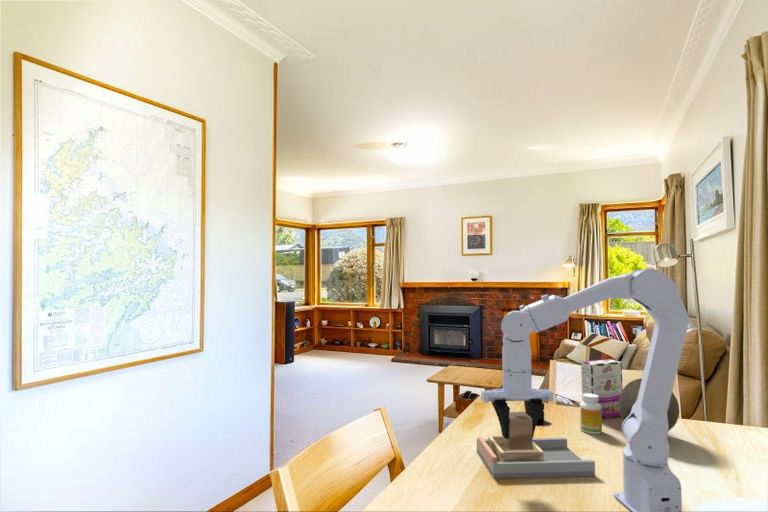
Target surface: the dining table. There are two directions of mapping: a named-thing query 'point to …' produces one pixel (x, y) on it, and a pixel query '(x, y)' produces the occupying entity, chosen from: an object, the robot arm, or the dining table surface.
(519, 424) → the walnut block
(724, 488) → the dining table surface
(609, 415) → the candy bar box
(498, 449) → the crate
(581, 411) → the supplement bottle
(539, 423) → the black box
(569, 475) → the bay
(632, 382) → the dark grey ball
